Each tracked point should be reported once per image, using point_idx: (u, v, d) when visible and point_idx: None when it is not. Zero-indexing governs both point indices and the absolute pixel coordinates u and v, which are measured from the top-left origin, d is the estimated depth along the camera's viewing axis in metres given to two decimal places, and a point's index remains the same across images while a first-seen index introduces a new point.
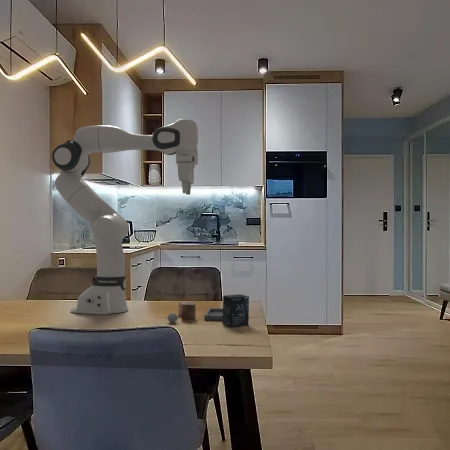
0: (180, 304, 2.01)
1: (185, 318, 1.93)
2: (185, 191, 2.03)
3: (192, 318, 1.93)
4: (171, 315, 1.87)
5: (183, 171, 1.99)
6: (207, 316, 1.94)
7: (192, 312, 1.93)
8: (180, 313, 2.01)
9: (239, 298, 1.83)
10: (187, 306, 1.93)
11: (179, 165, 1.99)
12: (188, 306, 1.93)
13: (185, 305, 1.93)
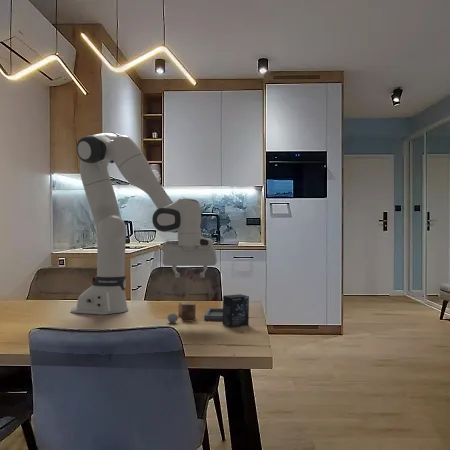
0: (180, 304, 2.01)
1: (185, 318, 1.93)
2: (204, 275, 1.95)
3: (192, 318, 1.93)
4: (171, 315, 1.87)
5: (215, 255, 1.94)
6: (207, 316, 1.94)
7: (192, 312, 1.93)
8: (180, 313, 2.01)
9: (239, 298, 1.83)
10: (187, 306, 1.93)
11: (214, 249, 1.92)
12: (188, 306, 1.93)
13: (185, 305, 1.93)
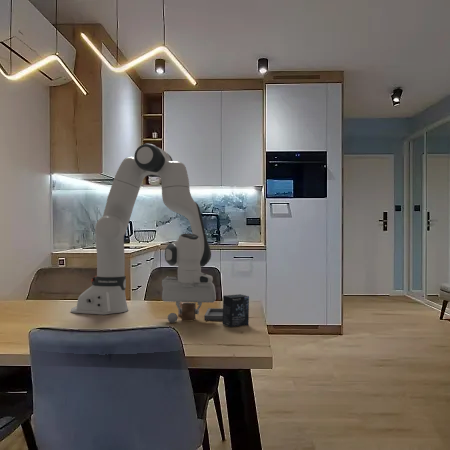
0: (180, 304, 2.01)
1: (185, 318, 1.93)
2: (198, 311, 1.95)
3: (192, 318, 1.93)
4: (171, 315, 1.87)
5: (215, 292, 1.94)
6: (207, 316, 1.94)
7: (192, 312, 1.93)
8: None
9: (239, 298, 1.83)
10: (187, 306, 1.93)
11: (213, 286, 1.93)
12: (188, 306, 1.93)
13: (185, 305, 1.93)
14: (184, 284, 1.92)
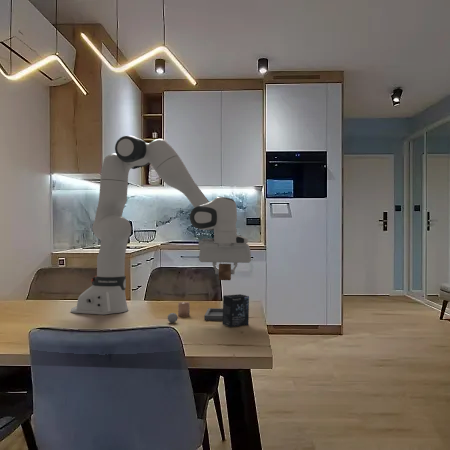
0: (180, 304, 2.01)
1: (222, 278, 1.99)
2: (234, 272, 2.01)
3: (228, 278, 1.99)
4: (171, 315, 1.87)
5: (250, 253, 2.00)
6: (207, 316, 1.94)
7: (228, 272, 1.99)
8: (180, 313, 2.01)
9: (239, 298, 1.83)
10: (224, 266, 1.99)
11: (249, 247, 1.99)
12: (225, 266, 1.99)
13: (222, 265, 1.99)
14: (221, 245, 1.98)
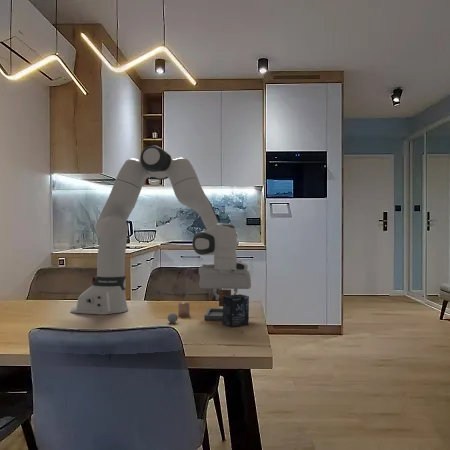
0: (180, 304, 2.01)
1: (222, 304, 1.99)
2: None
3: None
4: (171, 315, 1.87)
5: (250, 279, 2.01)
6: (207, 316, 1.94)
7: None
8: (180, 313, 2.01)
9: (239, 298, 1.83)
10: (224, 292, 1.99)
11: (249, 273, 1.99)
12: (225, 292, 1.99)
13: (222, 291, 1.99)
14: (221, 271, 1.99)
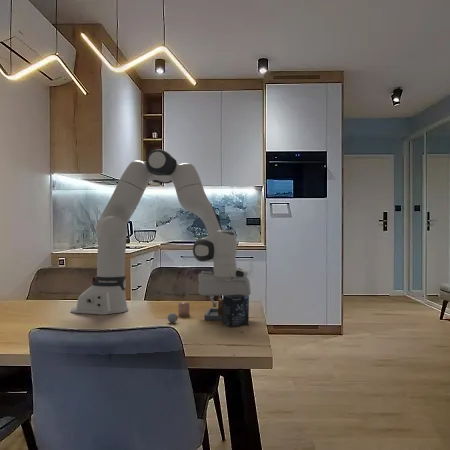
0: (180, 304, 2.01)
1: (221, 314, 1.99)
2: None
3: None
4: (171, 315, 1.87)
5: None
6: (207, 316, 1.94)
7: None
8: (180, 313, 2.01)
9: (239, 298, 1.83)
10: None
11: (248, 281, 1.99)
12: None
13: (221, 301, 1.99)
14: (220, 278, 1.98)
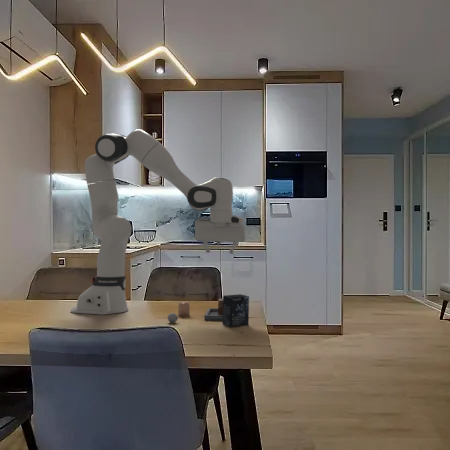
0: (180, 304, 2.01)
1: (221, 314, 1.99)
2: (233, 251, 2.06)
3: None
4: (171, 315, 1.87)
5: None
6: (207, 316, 1.94)
7: None
8: (180, 313, 2.01)
9: (239, 298, 1.83)
10: None
11: None
12: None
13: (221, 301, 1.99)
14: (216, 224, 2.04)
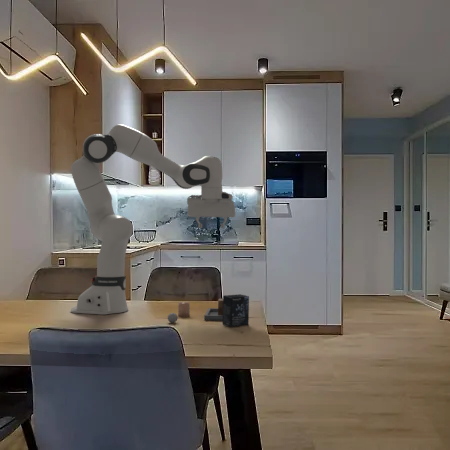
0: (180, 304, 2.01)
1: (221, 314, 1.99)
2: None
3: None
4: (171, 315, 1.87)
5: None
6: (207, 316, 1.94)
7: None
8: (180, 313, 2.01)
9: (239, 298, 1.83)
10: None
11: (233, 203, 2.16)
12: None
13: (221, 301, 1.99)
14: (207, 200, 2.15)
